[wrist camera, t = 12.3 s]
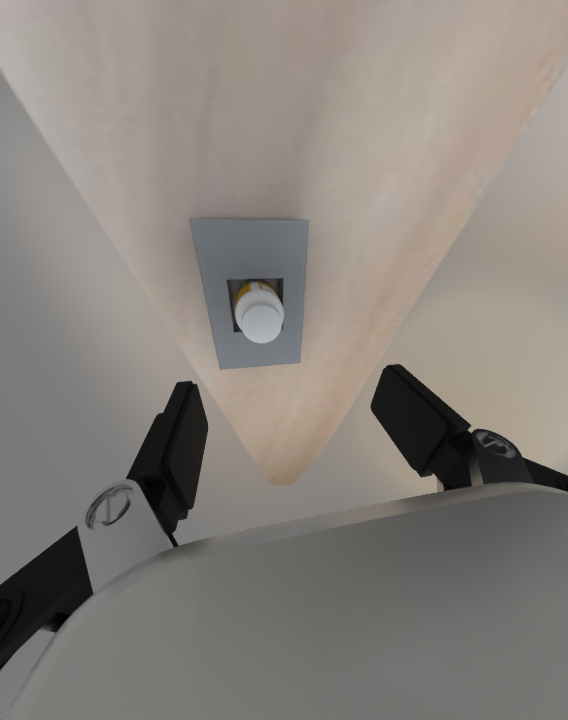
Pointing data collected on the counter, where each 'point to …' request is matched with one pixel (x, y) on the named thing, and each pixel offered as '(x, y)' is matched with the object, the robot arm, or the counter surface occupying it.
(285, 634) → the robot arm
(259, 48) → the counter surface
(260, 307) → the supplement bottle
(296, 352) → the socket block
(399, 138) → the counter surface
